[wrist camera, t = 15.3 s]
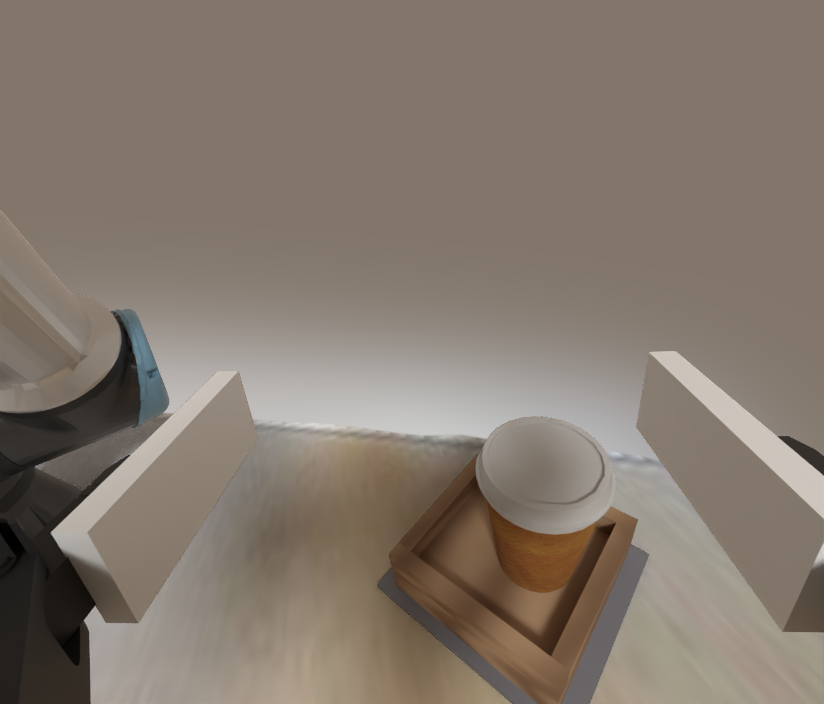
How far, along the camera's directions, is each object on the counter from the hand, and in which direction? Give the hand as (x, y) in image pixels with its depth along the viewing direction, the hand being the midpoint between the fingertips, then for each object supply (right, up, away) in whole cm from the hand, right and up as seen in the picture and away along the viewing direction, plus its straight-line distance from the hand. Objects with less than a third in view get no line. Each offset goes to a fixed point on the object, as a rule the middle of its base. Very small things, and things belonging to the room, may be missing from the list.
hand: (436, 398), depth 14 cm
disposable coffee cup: (+10, -16, +22) cm, 29 cm away
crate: (+8, -18, +24) cm, 31 cm away
